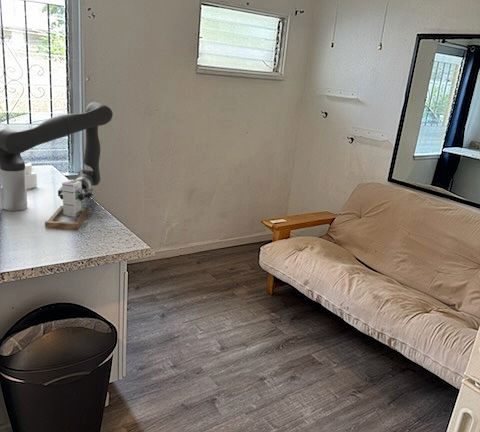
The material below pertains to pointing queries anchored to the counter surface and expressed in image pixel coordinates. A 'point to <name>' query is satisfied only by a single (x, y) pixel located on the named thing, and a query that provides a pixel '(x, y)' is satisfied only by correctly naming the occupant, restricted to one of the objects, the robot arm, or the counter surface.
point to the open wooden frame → (67, 225)
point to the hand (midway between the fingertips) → (71, 197)
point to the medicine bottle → (30, 176)
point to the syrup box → (72, 197)
